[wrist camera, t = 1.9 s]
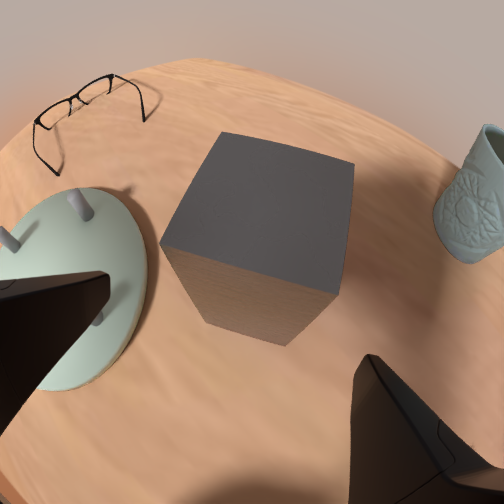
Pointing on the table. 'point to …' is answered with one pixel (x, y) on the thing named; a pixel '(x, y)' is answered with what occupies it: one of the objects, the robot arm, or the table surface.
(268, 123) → the table surface
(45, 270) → the pin plate
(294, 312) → the block
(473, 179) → the embossed blue-grey cup
